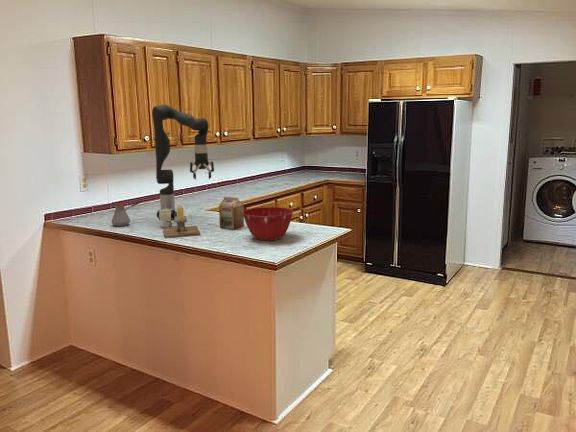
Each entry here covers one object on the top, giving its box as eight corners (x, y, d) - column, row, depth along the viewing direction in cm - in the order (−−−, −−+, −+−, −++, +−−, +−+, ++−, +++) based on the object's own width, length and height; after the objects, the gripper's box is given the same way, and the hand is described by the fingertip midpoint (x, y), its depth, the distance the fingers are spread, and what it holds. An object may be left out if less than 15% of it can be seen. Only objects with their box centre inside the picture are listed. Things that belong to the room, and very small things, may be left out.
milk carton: (244, 226, 313) (243, 196, 309) (233, 230, 304) (232, 199, 300) (230, 225, 318) (229, 195, 314) (219, 228, 309) (218, 197, 306)
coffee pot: (113, 228, 314) (111, 204, 311) (110, 224, 323) (108, 201, 320) (148, 224, 324) (146, 201, 321) (143, 220, 334) (142, 198, 331)
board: (163, 230, 306) (162, 220, 304) (196, 228, 311) (196, 217, 310) (165, 238, 287) (164, 227, 286) (200, 235, 292) (199, 224, 291)
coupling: (175, 224, 291) (174, 208, 290) (174, 220, 302) (173, 205, 300) (187, 223, 293) (186, 208, 291) (186, 219, 304) (185, 204, 302)
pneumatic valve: (160, 225, 319) (159, 207, 316) (178, 226, 316) (176, 207, 314) (156, 227, 313) (155, 208, 311) (174, 228, 311) (173, 209, 309)
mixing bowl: (243, 232, 298) (242, 206, 295) (291, 231, 300) (291, 205, 297) (242, 245, 271) (241, 216, 267) (295, 243, 272) (295, 215, 269)
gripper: (189, 153, 298) (191, 180, 301) (213, 152, 301) (215, 179, 305) (188, 152, 305) (189, 178, 308) (212, 151, 309) (213, 177, 312)
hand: (202, 179), depth 306 cm, fingers open, 8 cm apart
